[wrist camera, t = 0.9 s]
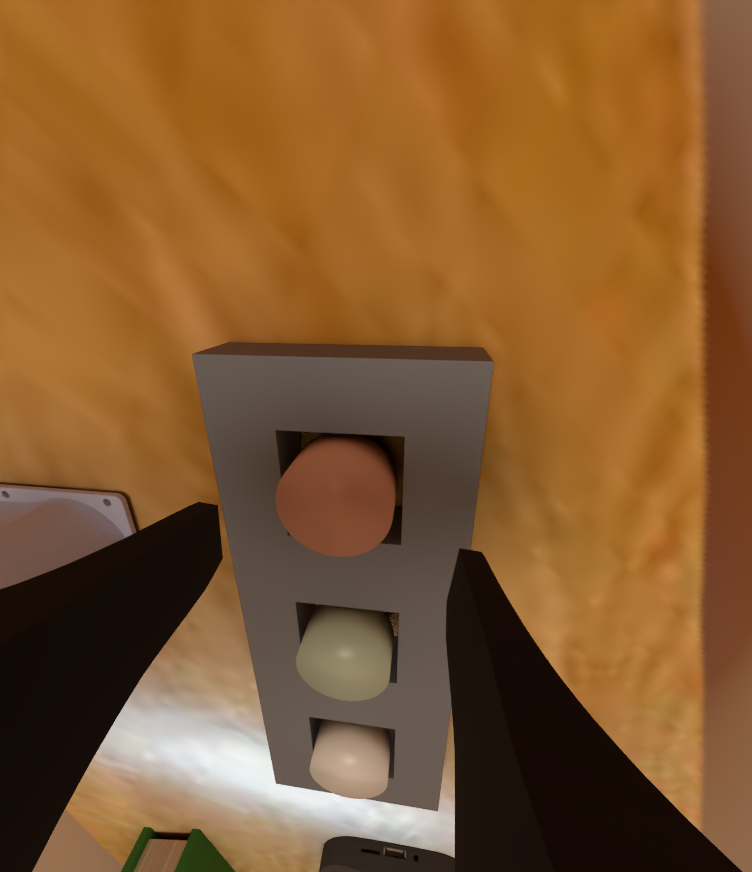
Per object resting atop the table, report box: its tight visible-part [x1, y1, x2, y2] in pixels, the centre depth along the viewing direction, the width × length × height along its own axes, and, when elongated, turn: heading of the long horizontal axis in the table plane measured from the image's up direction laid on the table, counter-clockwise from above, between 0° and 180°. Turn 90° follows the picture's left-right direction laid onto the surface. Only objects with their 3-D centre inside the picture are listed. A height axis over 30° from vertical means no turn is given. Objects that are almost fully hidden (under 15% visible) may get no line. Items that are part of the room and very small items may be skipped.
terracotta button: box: [275, 433, 398, 557], centre depth 16 cm, size 5×5×2 cm
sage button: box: [296, 605, 394, 701], centre depth 20 cm, size 5×5×2 cm
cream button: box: [310, 719, 391, 799], centre depth 24 cm, size 5×5×2 cm
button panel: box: [192, 343, 494, 811], centre depth 22 cm, size 12×32×3 cm, turn 0°
